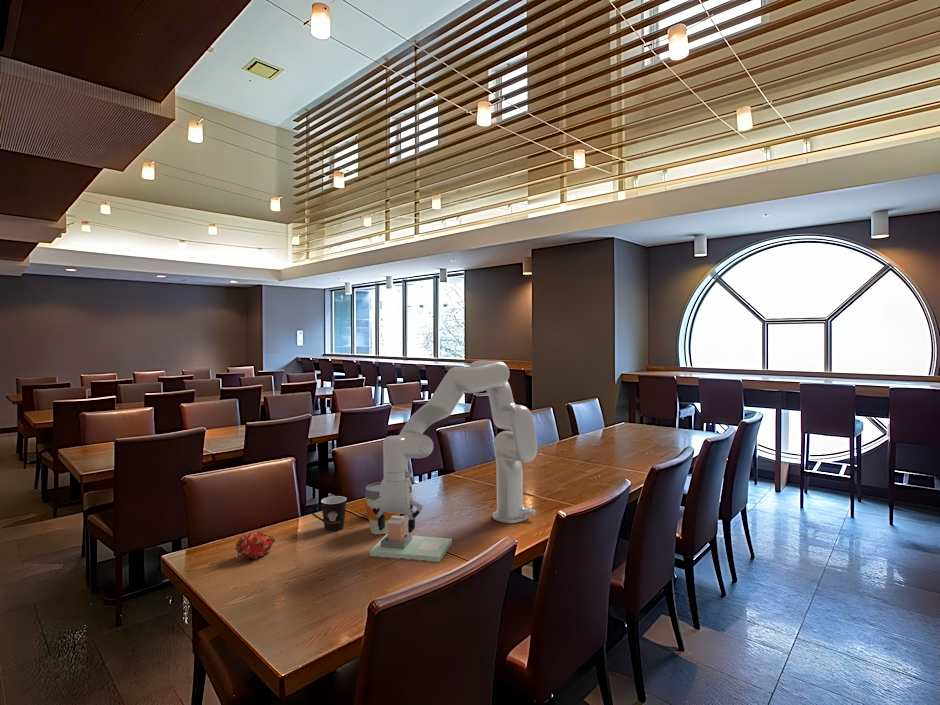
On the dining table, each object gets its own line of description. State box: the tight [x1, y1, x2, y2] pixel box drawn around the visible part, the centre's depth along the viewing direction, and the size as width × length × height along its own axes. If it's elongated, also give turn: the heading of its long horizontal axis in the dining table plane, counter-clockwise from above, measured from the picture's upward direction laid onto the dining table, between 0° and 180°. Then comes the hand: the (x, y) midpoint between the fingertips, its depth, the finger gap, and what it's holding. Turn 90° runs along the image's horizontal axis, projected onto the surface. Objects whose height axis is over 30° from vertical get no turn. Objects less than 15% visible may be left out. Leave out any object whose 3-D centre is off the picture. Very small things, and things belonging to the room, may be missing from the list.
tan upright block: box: [388, 515, 406, 542], centre depth 158 cm, size 4×4×8 cm
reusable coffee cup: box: [364, 481, 401, 535], centre depth 174 cm, size 13×12×15 cm
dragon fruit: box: [234, 530, 276, 560], centre depth 153 cm, size 8×8×12 cm
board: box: [369, 533, 453, 563], centre depth 157 cm, size 22×14×3 cm, turn 78°
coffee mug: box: [309, 495, 348, 533], centre depth 176 cm, size 12×9×10 cm
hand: (396, 530), depth 158 cm, fingers open, 9 cm apart
